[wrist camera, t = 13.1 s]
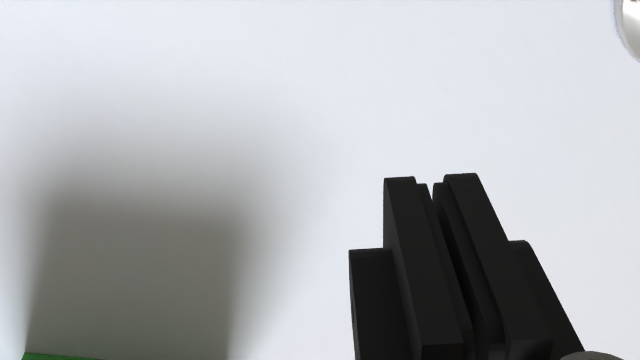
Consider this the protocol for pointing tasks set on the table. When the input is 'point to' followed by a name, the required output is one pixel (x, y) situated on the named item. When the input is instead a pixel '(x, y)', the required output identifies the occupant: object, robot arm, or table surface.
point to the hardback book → (50, 357)
